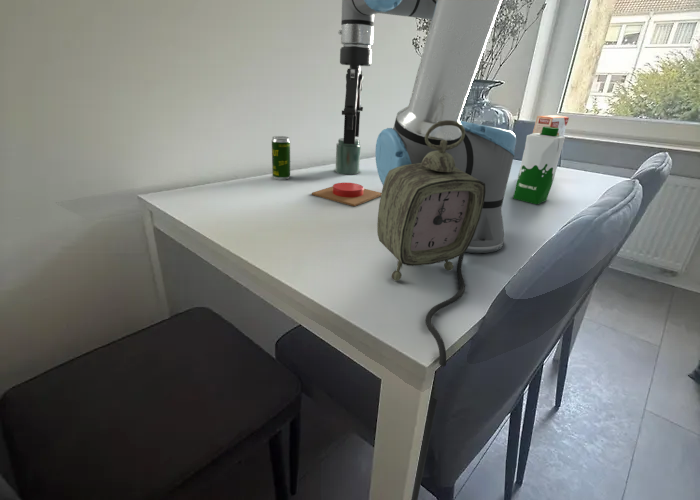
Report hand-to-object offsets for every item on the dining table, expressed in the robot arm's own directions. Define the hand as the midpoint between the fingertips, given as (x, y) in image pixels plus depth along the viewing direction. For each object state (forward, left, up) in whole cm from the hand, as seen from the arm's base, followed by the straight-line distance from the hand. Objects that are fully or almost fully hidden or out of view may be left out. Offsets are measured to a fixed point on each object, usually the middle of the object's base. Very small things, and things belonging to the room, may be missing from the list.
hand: (351, 140), depth 100 cm
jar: (+22, +16, -15) cm, 31 cm away
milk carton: (+35, -40, -15) cm, 55 cm away
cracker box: (+70, -35, -15) cm, 80 cm away
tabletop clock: (-28, -34, -15) cm, 46 cm away
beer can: (0, +25, -15) cm, 29 cm away
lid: (0, 0, -13) cm, 13 cm away
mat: (0, 0, -15) cm, 15 cm away
